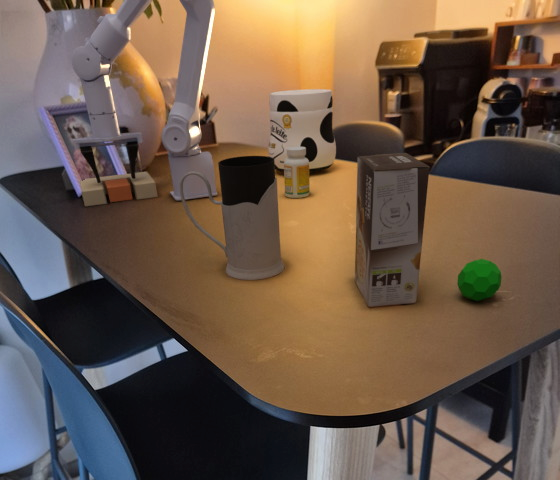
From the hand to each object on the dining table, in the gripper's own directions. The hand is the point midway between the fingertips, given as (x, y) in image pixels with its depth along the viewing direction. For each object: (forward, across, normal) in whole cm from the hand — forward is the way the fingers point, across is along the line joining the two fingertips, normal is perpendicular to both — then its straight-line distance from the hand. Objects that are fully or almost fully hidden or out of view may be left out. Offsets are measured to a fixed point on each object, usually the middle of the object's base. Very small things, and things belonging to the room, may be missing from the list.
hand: (116, 180), depth 117 cm
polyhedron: (+4, +36, -81) cm, 88 cm away
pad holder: (+4, 0, +2) cm, 4 cm away
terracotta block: (+4, 0, 0) cm, 4 cm away
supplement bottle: (+4, +36, -21) cm, 42 cm away
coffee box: (+4, +27, -74) cm, 79 cm away
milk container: (+4, +47, +3) cm, 47 cm away
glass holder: (+4, +12, -57) cm, 58 cm away
